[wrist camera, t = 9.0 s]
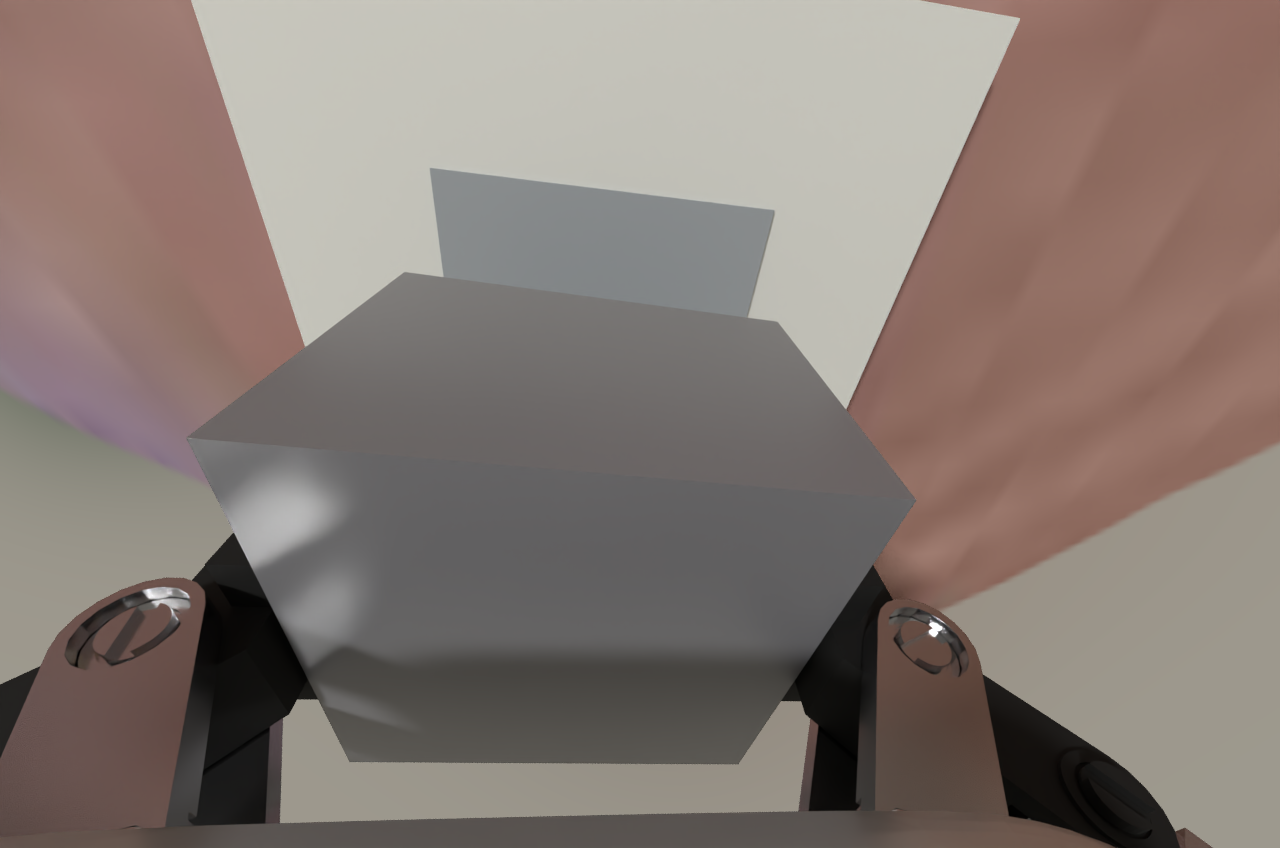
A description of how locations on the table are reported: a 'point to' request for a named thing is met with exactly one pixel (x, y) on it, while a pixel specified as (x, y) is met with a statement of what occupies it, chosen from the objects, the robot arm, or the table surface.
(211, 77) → the table surface
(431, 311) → the charcoal brick
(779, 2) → the base plate
